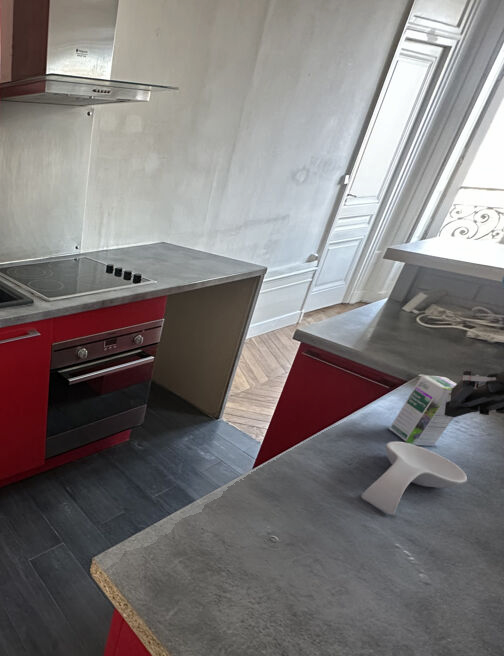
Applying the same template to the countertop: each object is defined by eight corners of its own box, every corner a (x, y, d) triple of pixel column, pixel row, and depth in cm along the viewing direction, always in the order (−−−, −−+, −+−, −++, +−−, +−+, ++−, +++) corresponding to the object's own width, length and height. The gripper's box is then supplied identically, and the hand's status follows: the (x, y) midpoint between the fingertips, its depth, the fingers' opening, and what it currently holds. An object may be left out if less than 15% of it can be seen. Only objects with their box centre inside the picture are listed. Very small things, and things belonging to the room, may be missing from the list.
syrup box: (387, 428, 94) (419, 374, 88) (412, 429, 94) (446, 376, 88) (409, 445, 89) (445, 389, 83) (435, 446, 89) (473, 391, 83)
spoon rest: (391, 447, 88) (408, 420, 85) (465, 484, 79) (487, 456, 76) (339, 487, 77) (355, 458, 74) (418, 535, 68) (441, 504, 65)
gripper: (492, 386, 62) (405, 417, 83) (620, 414, 57) (493, 439, 78) (496, 341, 64) (410, 382, 85) (620, 364, 59) (496, 402, 80)
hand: (450, 409), depth 81 cm, fingers closed
